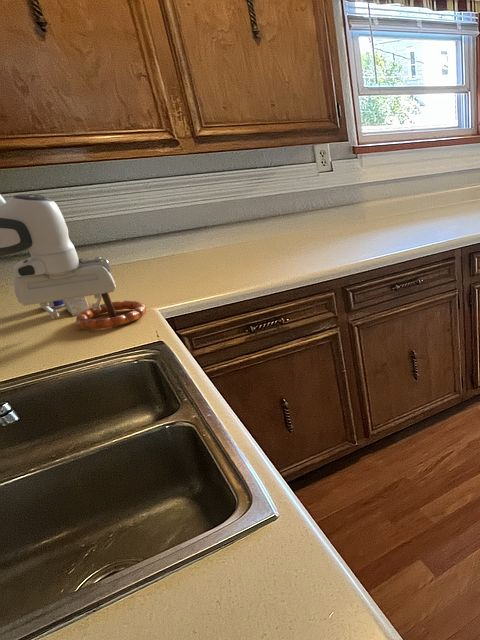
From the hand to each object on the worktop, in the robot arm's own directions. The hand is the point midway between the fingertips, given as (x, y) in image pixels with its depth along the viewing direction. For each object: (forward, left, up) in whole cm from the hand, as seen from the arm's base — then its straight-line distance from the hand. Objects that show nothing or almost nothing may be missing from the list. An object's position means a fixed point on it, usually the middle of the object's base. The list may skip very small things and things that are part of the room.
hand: (77, 313), depth 135 cm
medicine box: (-2, +16, -5) cm, 17 cm away
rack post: (+7, 0, -4) cm, 8 cm away
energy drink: (-8, +24, -5) cm, 26 cm away
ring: (+7, 0, -2) cm, 7 cm away
